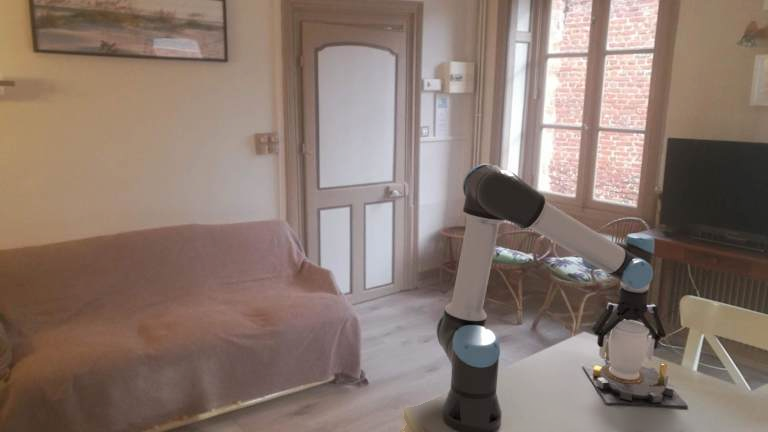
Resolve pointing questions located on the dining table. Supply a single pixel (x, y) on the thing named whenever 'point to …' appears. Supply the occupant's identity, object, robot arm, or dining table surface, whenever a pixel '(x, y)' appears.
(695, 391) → the dining table surface
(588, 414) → the dining table surface
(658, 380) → the sprocket
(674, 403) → the base plate
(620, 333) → the jar
